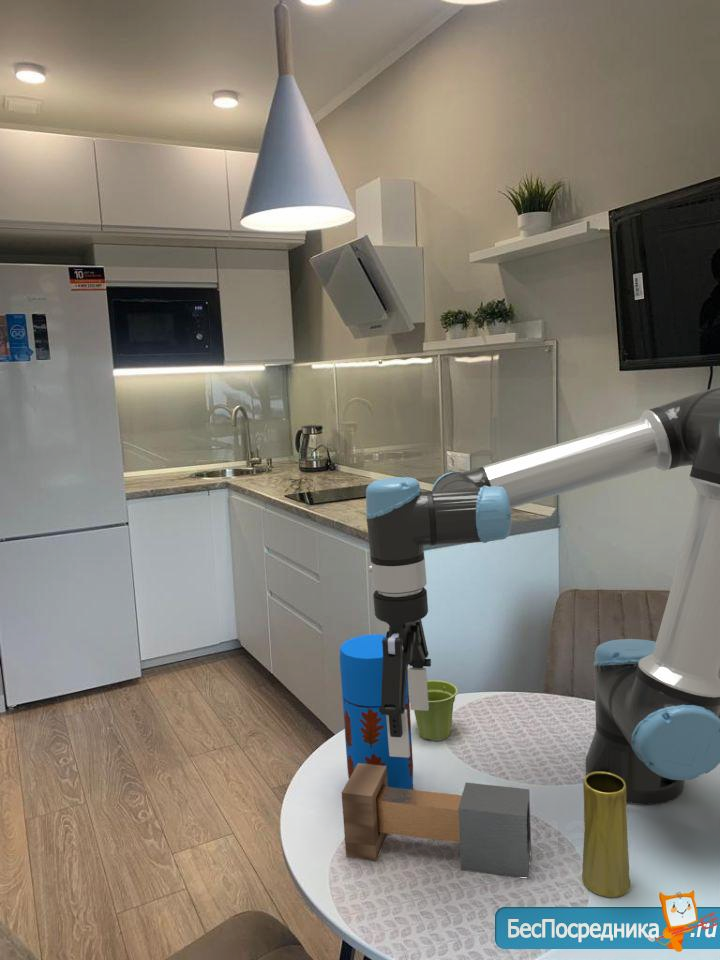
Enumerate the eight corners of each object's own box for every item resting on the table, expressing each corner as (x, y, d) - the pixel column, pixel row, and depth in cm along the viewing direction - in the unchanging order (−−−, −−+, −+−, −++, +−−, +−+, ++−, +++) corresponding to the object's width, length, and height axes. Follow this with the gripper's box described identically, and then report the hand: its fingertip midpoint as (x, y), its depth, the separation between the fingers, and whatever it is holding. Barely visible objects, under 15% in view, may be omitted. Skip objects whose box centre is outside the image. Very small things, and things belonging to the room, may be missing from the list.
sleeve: (531, 848, 103) (529, 789, 102) (527, 879, 97) (525, 816, 96) (468, 840, 106) (465, 782, 105) (461, 869, 100) (458, 808, 99)
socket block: (390, 826, 110) (386, 766, 109) (376, 861, 103) (371, 796, 101) (362, 823, 112) (358, 762, 110) (346, 856, 104) (341, 792, 103)
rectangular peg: (484, 830, 103) (483, 797, 103) (481, 846, 100) (480, 812, 99) (366, 815, 109) (364, 784, 108) (359, 829, 105) (357, 798, 105)
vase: (592, 860, 100) (590, 764, 98) (637, 877, 96) (636, 778, 94) (574, 885, 96) (572, 785, 93) (621, 905, 92) (619, 801, 90)
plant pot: (402, 727, 141) (400, 685, 140) (447, 717, 144) (445, 676, 142) (420, 750, 132) (418, 705, 131) (467, 739, 135) (465, 695, 134)
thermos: (409, 810, 114) (400, 659, 111) (343, 806, 116) (332, 658, 113) (417, 773, 125) (409, 634, 121) (356, 769, 127) (347, 633, 123)
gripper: (394, 564, 114) (403, 691, 117) (348, 618, 90) (361, 776, 94) (441, 564, 112) (449, 693, 115) (406, 620, 88) (418, 781, 91)
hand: (410, 731), depth 104 cm, fingers open, 13 cm apart
